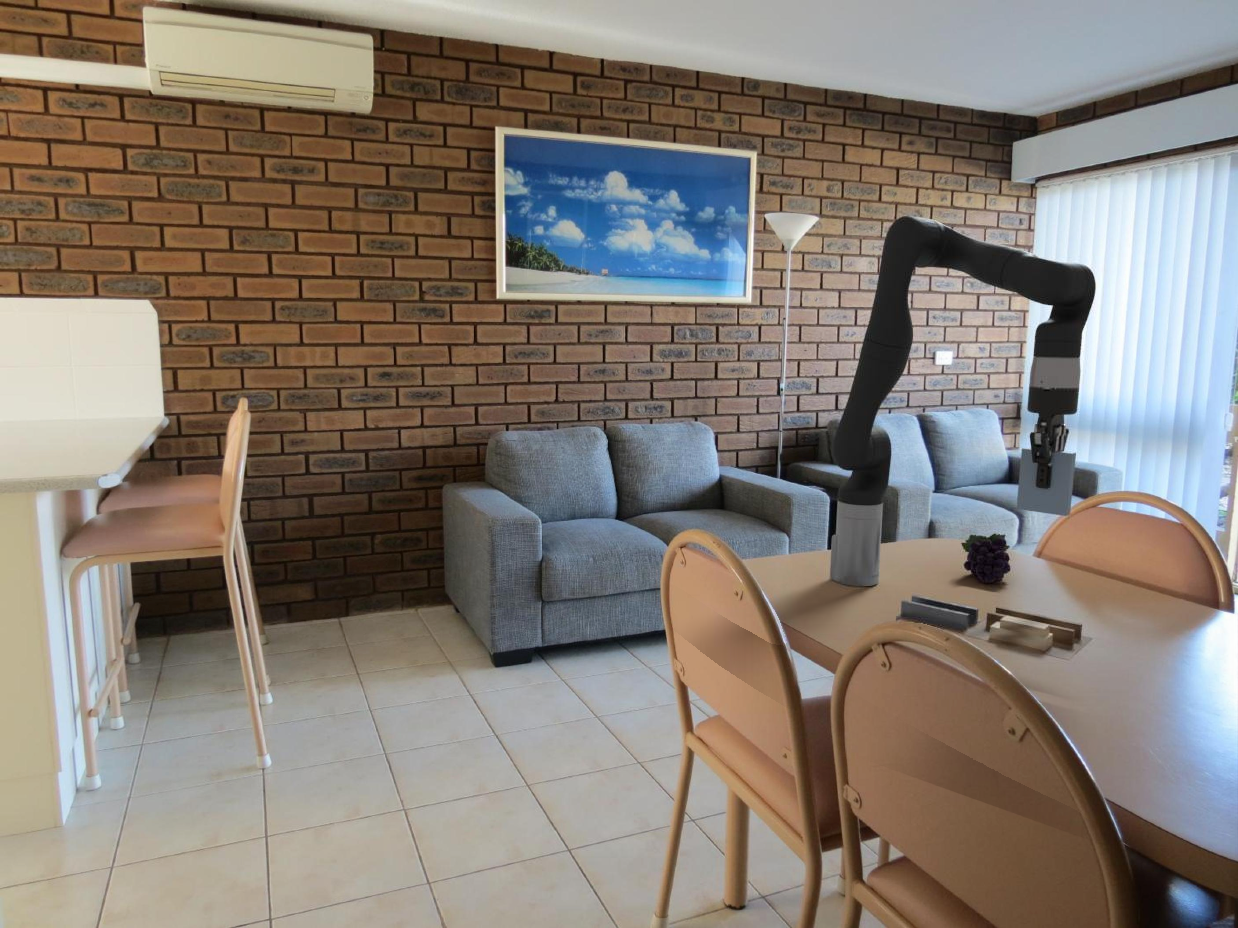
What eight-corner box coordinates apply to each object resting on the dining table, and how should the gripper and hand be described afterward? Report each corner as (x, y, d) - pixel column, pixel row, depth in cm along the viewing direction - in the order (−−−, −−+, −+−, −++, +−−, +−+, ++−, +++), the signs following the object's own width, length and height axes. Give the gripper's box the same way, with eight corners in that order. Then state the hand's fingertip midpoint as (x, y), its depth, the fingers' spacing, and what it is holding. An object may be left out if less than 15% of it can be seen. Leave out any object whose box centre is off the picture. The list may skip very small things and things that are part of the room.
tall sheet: (1016, 508, 151) (1021, 448, 149) (1020, 507, 152) (1025, 447, 150) (1066, 516, 145) (1072, 453, 144) (1069, 514, 147) (1076, 452, 145)
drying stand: (896, 621, 160) (897, 602, 159) (916, 610, 166) (918, 592, 166) (961, 637, 152) (963, 617, 151) (980, 624, 158) (982, 606, 158)
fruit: (973, 599, 185) (957, 564, 198) (1026, 594, 183) (1006, 559, 196) (971, 557, 181) (955, 524, 194) (1025, 551, 179) (1005, 518, 192)
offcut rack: (961, 639, 150) (962, 620, 150) (990, 621, 160) (992, 602, 160) (1068, 665, 139) (1070, 644, 138) (1092, 643, 149) (1094, 623, 149)
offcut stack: (989, 637, 149) (990, 617, 148) (996, 632, 151) (998, 613, 151) (1045, 650, 143) (1047, 630, 142) (1052, 645, 145) (1053, 624, 145)
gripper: (1043, 382, 153) (1034, 479, 156) (1016, 385, 143) (1008, 489, 145) (1090, 384, 148) (1080, 485, 151) (1066, 387, 138) (1056, 495, 140)
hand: (1045, 486), depth 148 cm, fingers closed on tall sheet, 1 cm apart
